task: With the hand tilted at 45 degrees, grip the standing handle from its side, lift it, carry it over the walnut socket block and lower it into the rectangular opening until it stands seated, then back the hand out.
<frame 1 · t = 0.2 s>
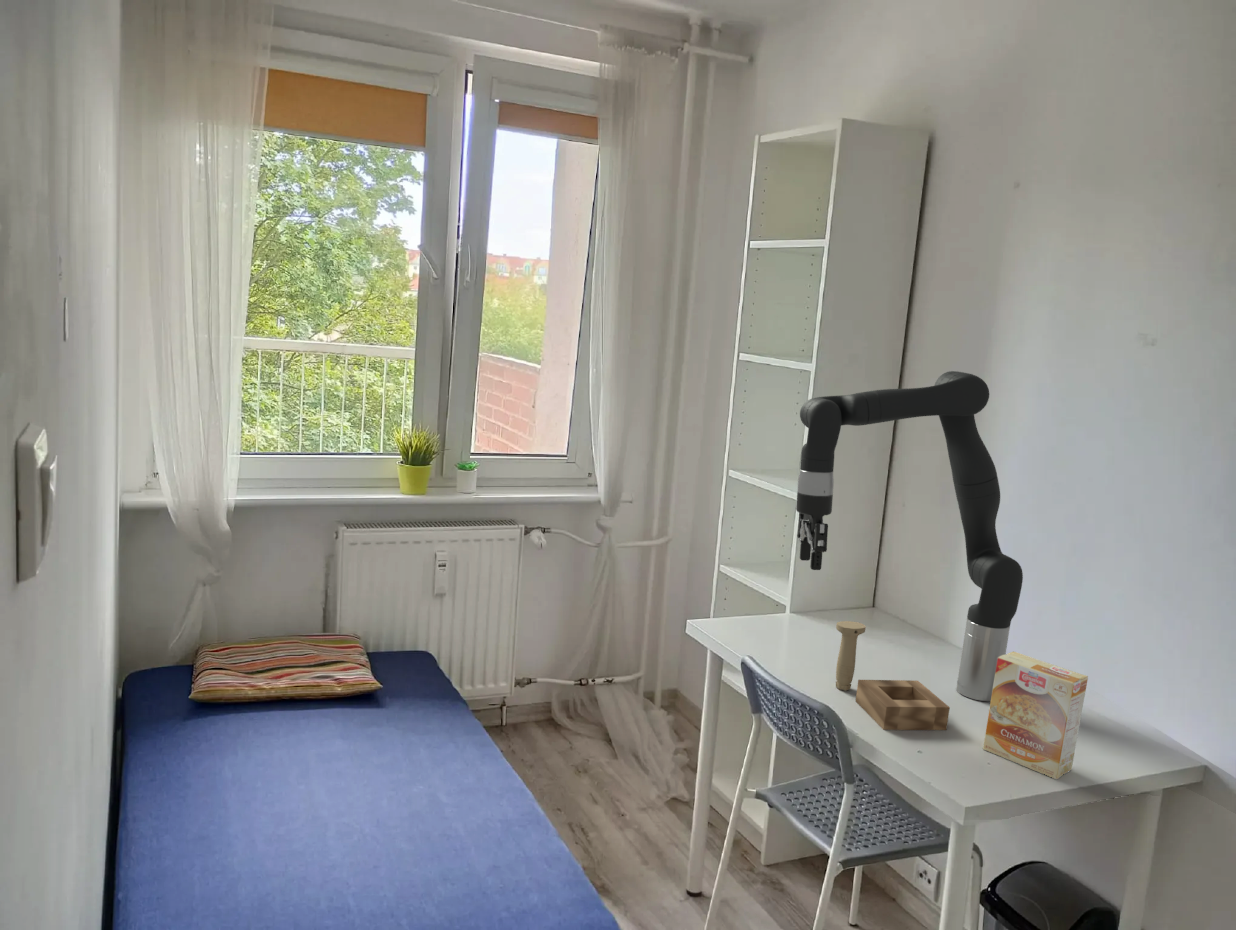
hand: (810, 564, 209), 29 cm above the table, tool pointing down, fingers open, 8 cm apart
coffeecake box: (1026, 760, 189), on the table
socket block: (899, 715, 205), on the table
handle: (842, 689, 217), on the table
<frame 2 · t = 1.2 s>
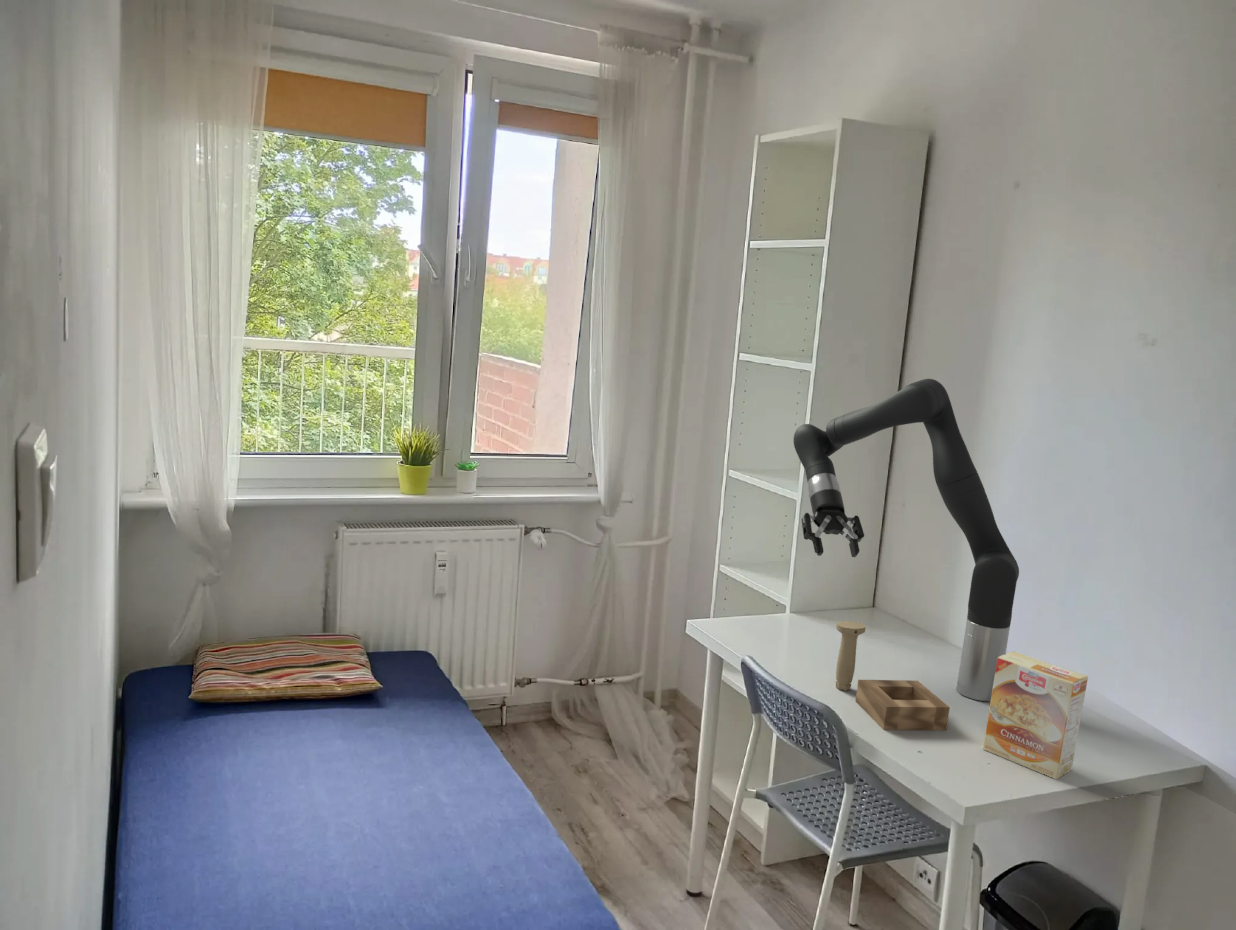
hand: (838, 554, 224), 28 cm above the table, tool tilted 45°, fingers open, 8 cm apart
nothing on the table moved.
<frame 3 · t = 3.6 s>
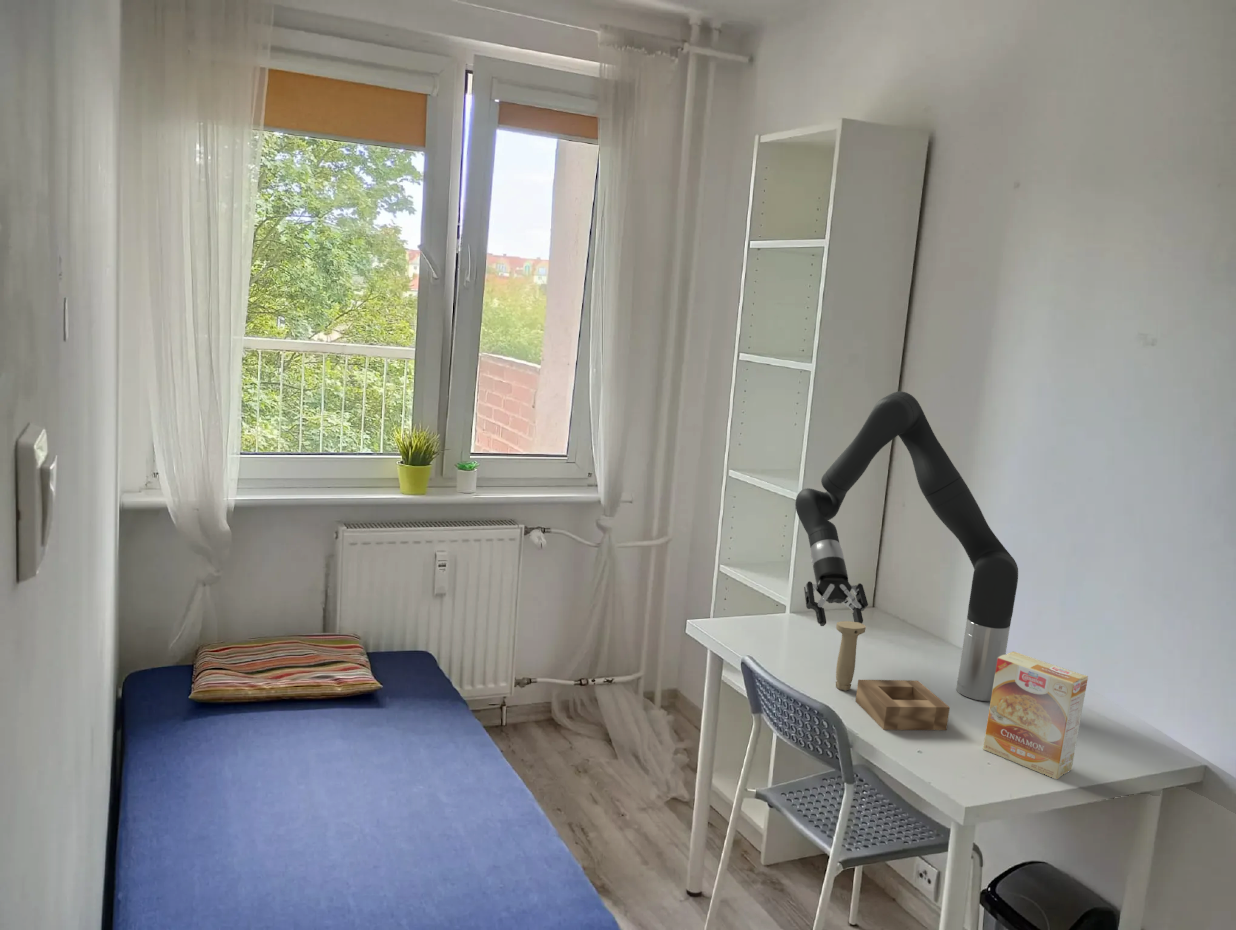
hand: (841, 625, 220), 13 cm above the table, tool tilted 45°, fingers open, 8 cm apart
nothing on the table moved.
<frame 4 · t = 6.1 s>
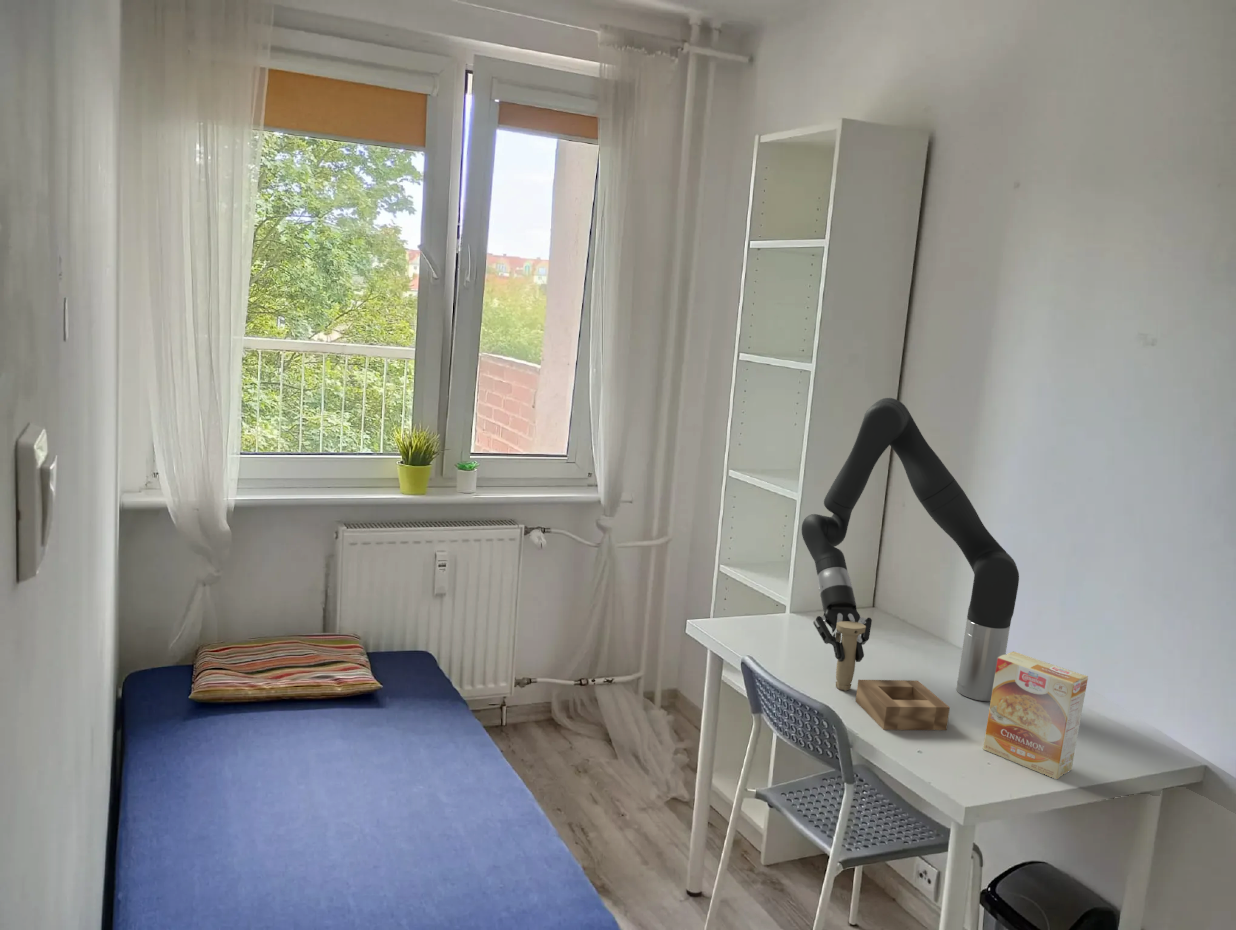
hand: (850, 660, 214), 8 cm above the table, tool tilted 45°, fingers closed on handle, 3 cm apart
handle: (842, 689, 217), on the table, touching gripper
everything else where it was.
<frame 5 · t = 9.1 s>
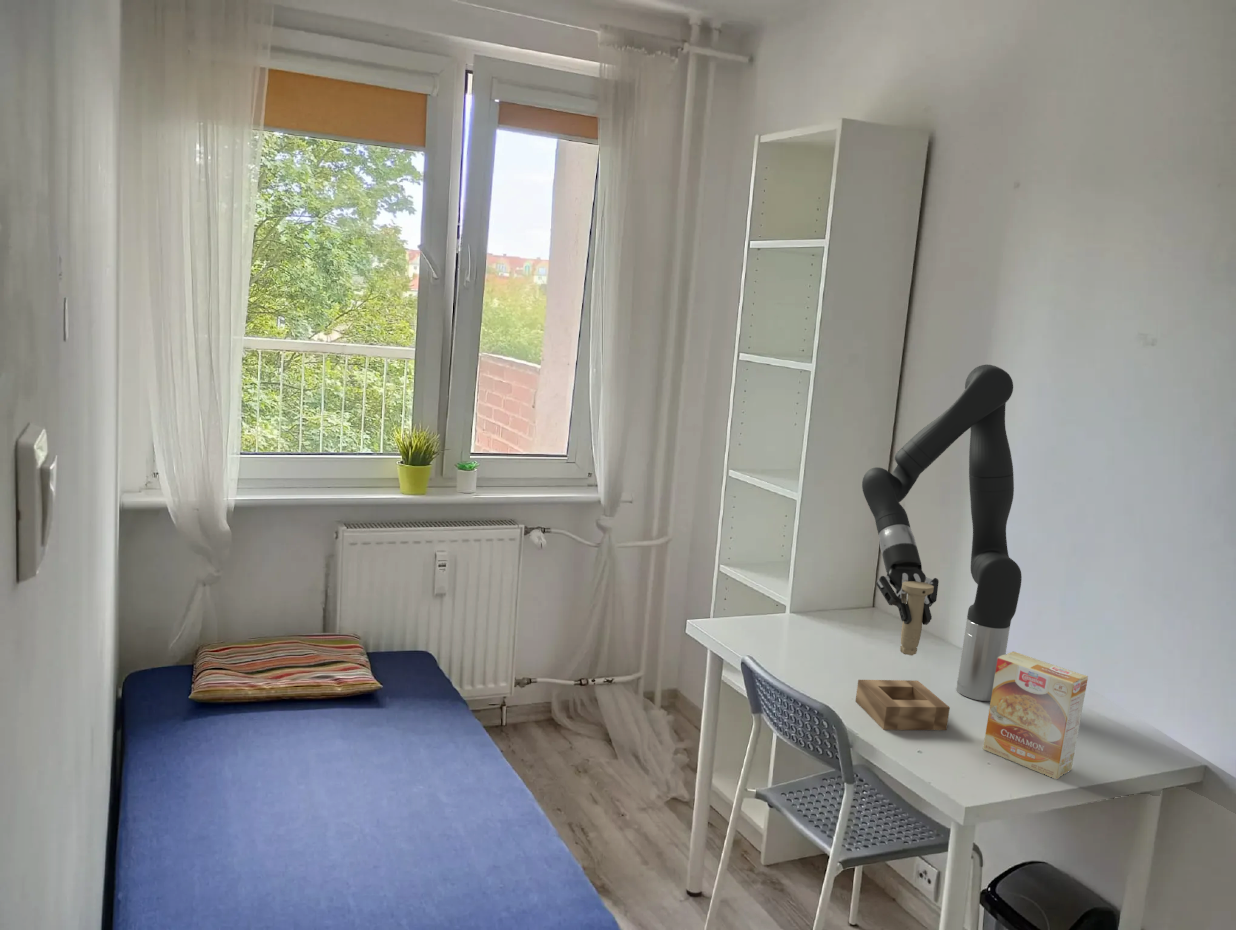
hand: (917, 622, 200), 21 cm above the table, tool tilted 45°, fingers closed on handle, 3 cm apart
handle: (907, 654, 203), point 14 cm above the table, touching gripper
everything else where it was.
when the fingers open (9 cm above the table, at t = 12.1 s): handle drops 1 cm, resting in socket block.
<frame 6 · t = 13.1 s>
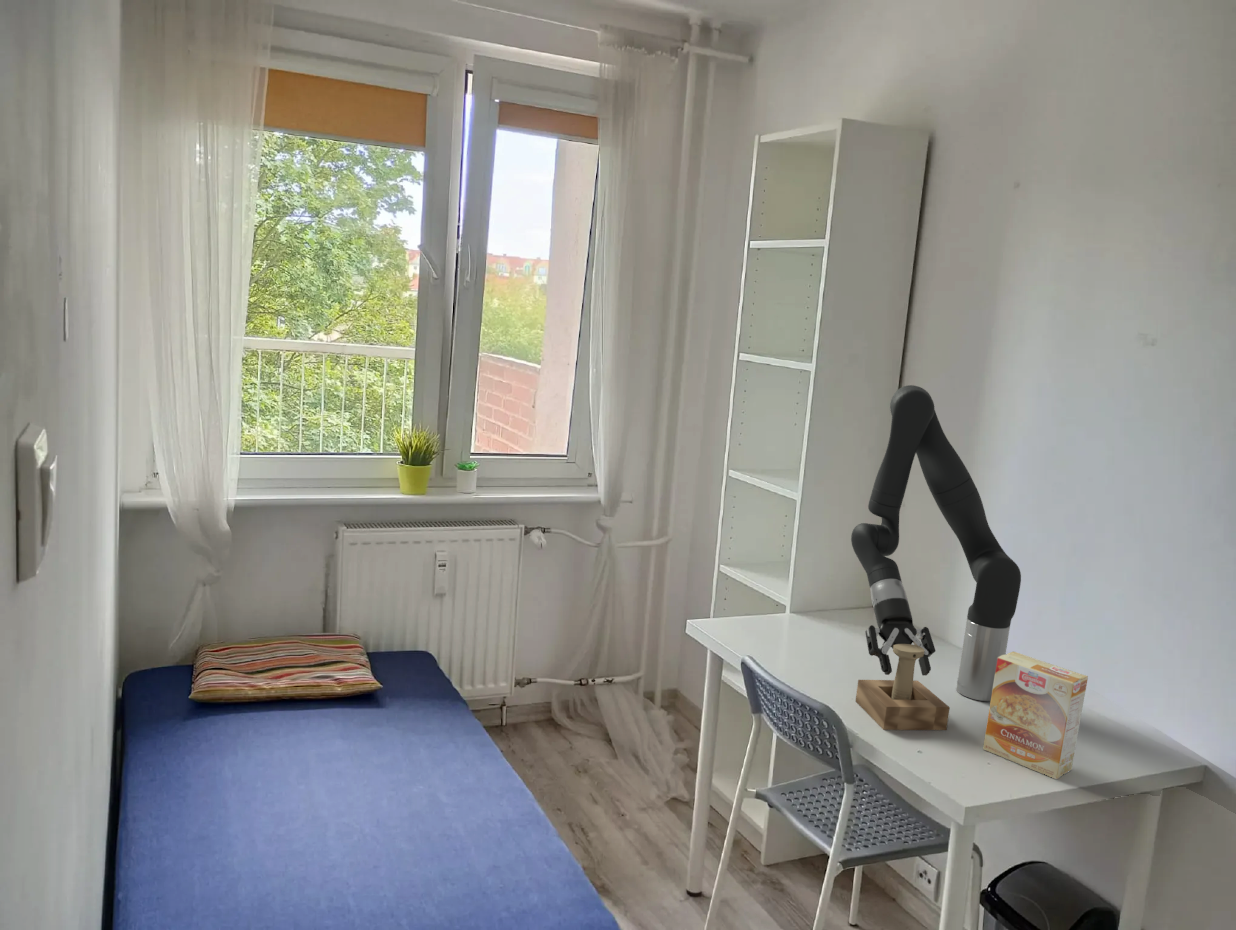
hand: (907, 673, 203), 10 cm above the table, tool tilted 45°, fingers open, 8 cm apart
handle: (898, 715, 205), resting in socket block
everything else where it was.
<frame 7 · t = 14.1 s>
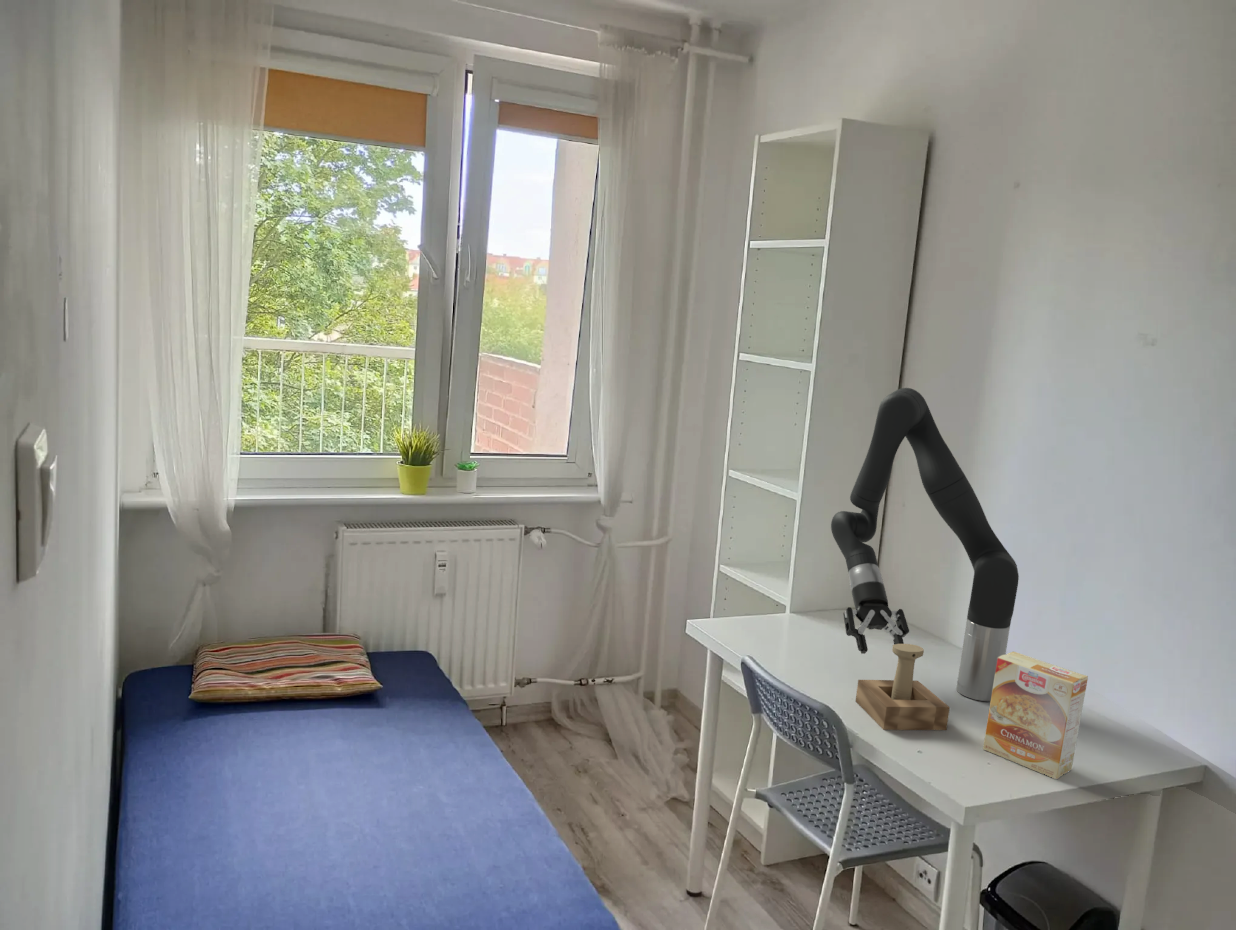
hand: (882, 652, 214), 10 cm above the table, tool tilted 45°, fingers open, 8 cm apart
nothing on the table moved.
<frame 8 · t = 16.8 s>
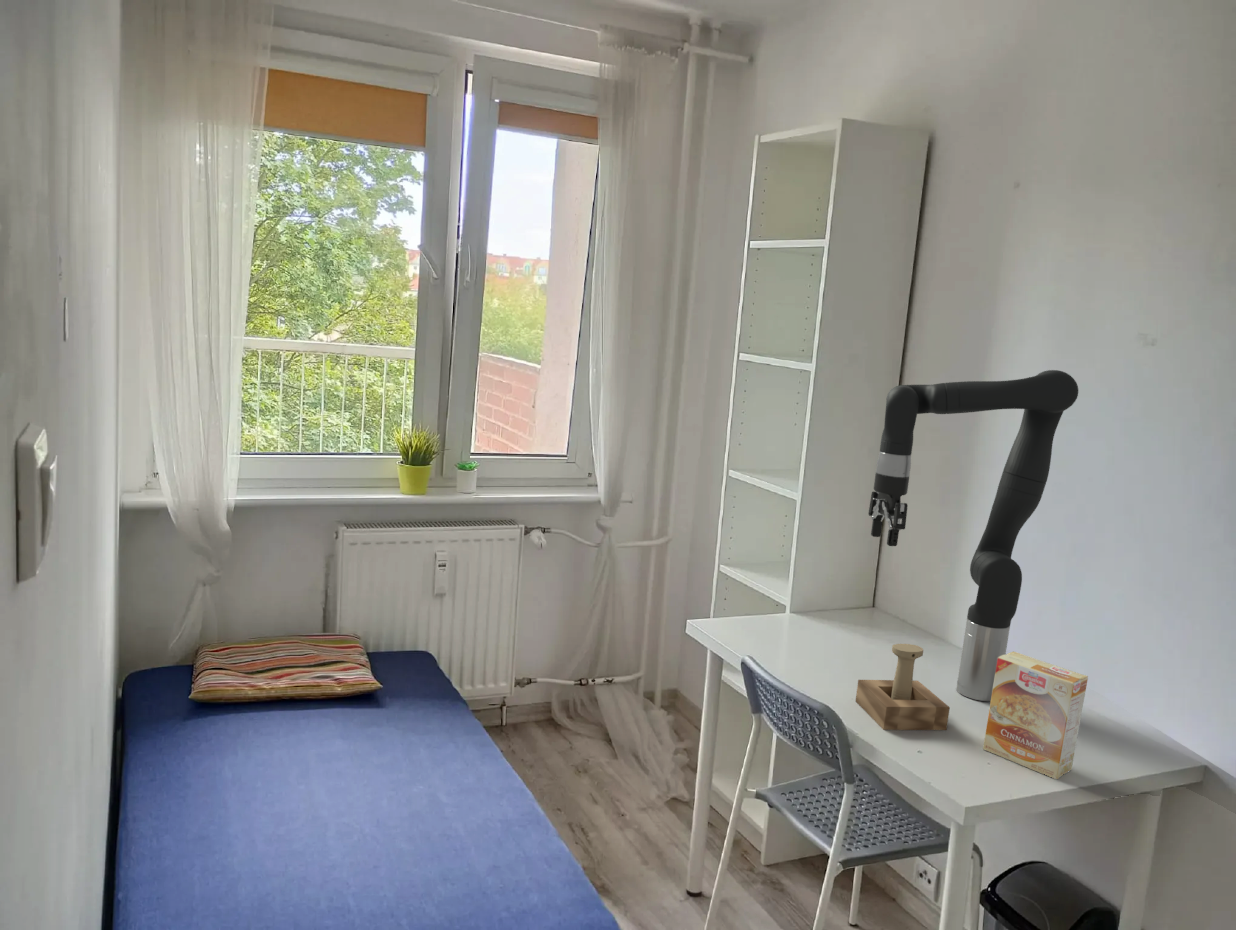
hand: (883, 541, 223), 32 cm above the table, tool pointing down, fingers open, 8 cm apart
nothing on the table moved.
at the end: handle 0.3 cm off-centre on the socket block, point 0.0 cm above the socket block's base; handle tilted 0°; the gripper is holding nothing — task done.
